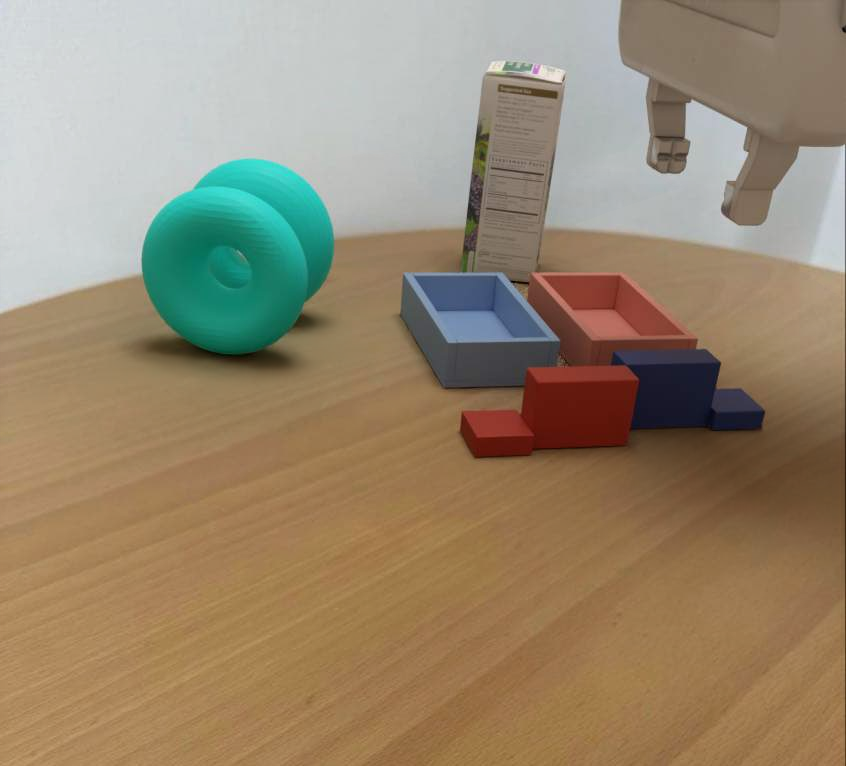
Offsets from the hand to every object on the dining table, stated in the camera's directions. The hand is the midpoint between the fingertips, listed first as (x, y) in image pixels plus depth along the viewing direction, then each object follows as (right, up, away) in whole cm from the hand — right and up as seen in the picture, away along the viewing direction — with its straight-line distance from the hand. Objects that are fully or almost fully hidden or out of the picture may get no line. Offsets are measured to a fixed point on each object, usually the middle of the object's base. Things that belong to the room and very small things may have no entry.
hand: (700, 194), depth 60 cm
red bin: (-3, -5, +16) cm, 17 cm away
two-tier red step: (-8, -13, +3) cm, 15 cm away
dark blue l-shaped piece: (0, -11, +7) cm, 13 cm away
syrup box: (-9, +3, +28) cm, 30 cm away
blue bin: (-11, -6, +14) cm, 19 cm away
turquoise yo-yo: (-26, -5, +14) cm, 30 cm away
